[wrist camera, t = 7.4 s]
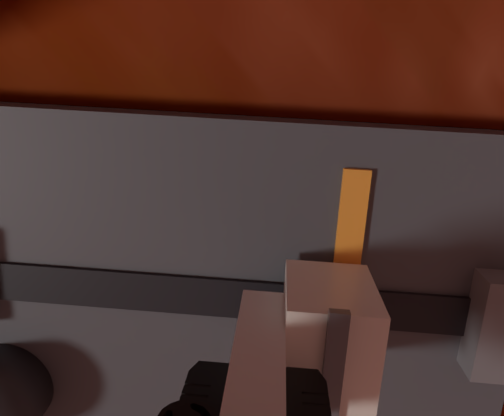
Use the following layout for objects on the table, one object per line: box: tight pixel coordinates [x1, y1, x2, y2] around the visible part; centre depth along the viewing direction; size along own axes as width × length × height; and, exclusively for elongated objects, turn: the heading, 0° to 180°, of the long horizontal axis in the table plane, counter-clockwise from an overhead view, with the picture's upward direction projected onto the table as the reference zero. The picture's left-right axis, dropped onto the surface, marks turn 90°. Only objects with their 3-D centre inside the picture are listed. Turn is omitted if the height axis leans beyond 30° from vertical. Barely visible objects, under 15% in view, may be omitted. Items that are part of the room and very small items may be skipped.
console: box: [0, 102, 504, 416], centre depth 18 cm, size 14×24×5 cm, turn 87°
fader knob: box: [284, 259, 391, 416], centre depth 16 cm, size 4×3×4 cm
